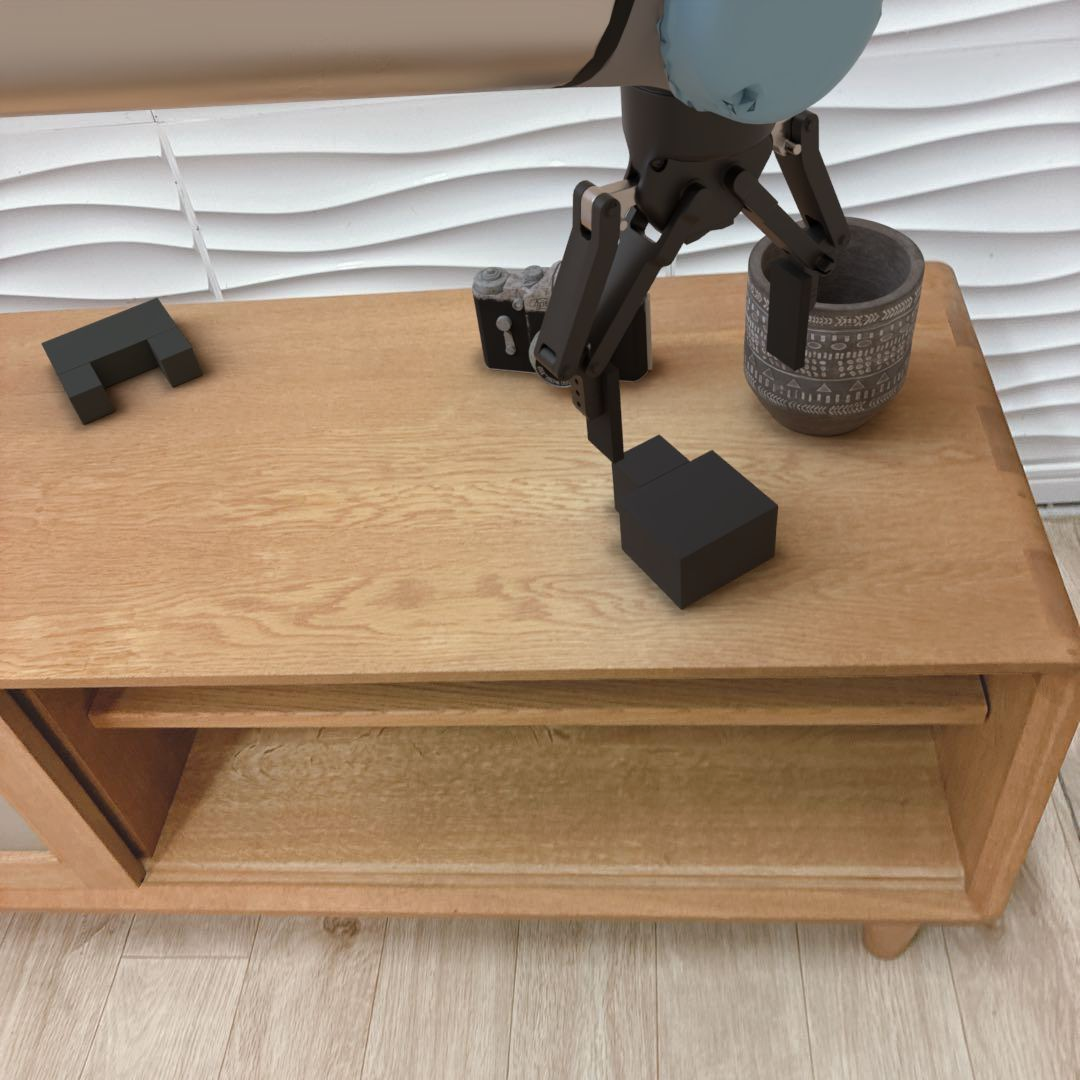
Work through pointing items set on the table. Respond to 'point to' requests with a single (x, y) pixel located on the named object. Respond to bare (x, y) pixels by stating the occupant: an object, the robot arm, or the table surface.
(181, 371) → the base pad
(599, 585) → the table surface
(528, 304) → the camera
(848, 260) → the planter
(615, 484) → the pad
